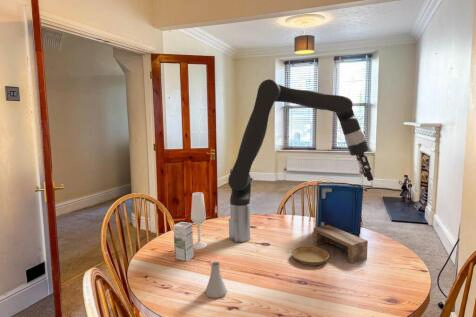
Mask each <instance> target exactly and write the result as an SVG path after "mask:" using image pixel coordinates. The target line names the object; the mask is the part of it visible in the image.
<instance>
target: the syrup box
mask: <svg viewBox="0 0 476 317" xmlns="http://www.w3.org/2000/svg"><path fill="white" fill-rule="evenodd" d="M193 235H194V232H193V222H186V221H185V222H184V221H180V222H178V223H177V222H176V223H175V224H174V225H173V244H174V260H178V261H181V262H188V261H189V260H191V259H192V258H193V257H194V248H193V244H194V237H193Z"/></svg>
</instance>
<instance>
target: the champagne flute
mask: <svg viewBox="0 0 476 317" xmlns="http://www.w3.org/2000/svg"><path fill="white" fill-rule="evenodd" d="M191 195H192V196H191V197H192V198H191V209H190V210H191V211H190V212H191V213H190V219H191V221H192V223H193V224H195V225H196V226H197V242H195V243H193V249H197V250H198V249H200V250H201V249H204V248H206V247H207V246H208V245H207V244H206V243H205V242H203V241H201V225H202V224H203V223H205V220H206V219H207V214H206V213H207V212H206V206H205V204H206V203H205V196H204V192H201V191H200V192H199V191H198V192H197V191H196V192H193V193H192V194H191Z"/></svg>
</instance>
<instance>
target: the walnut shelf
mask: <svg viewBox="0 0 476 317" xmlns="http://www.w3.org/2000/svg"><path fill="white" fill-rule="evenodd" d="M312 235H313V240H312V241H313V245H314V246H320V245H324V244H327V243H330V244H331V245H334V246H336V247H338V248H340V249H343V250H345V251H347V262H348V263H350V264H354V263H358V262H361V261H363V260H367V259H368V243H369V242H368V240H367V239H365V238H362V237H361V236H360V237H359V236H358V235H352V234H350V233H347V232H345V231H342V230H340V229H337V228H335V227H332V226H330V225H324V226H320V227H316V228H315V227H313V234H312Z"/></svg>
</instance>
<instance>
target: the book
mask: <svg viewBox="0 0 476 317" xmlns="http://www.w3.org/2000/svg"><path fill="white" fill-rule="evenodd" d="M316 184H317V186H316V205H315V206H316V207H315V210H316V211H315V227H314V228H316V227H320V226H324V225H330V226H332V227H335V228H337V229H340V230H342V231H345V232H347V233H350V234H352V235H355V236H359V235H361V228H362V226H361V225H362V216H363V215H362V212H363V196H364V187H363V185H361V184H358V183H356V184H354V183H353V184H352V183H347V182H333V181H331V182H329V181H326V182H317V183H316Z"/></svg>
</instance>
